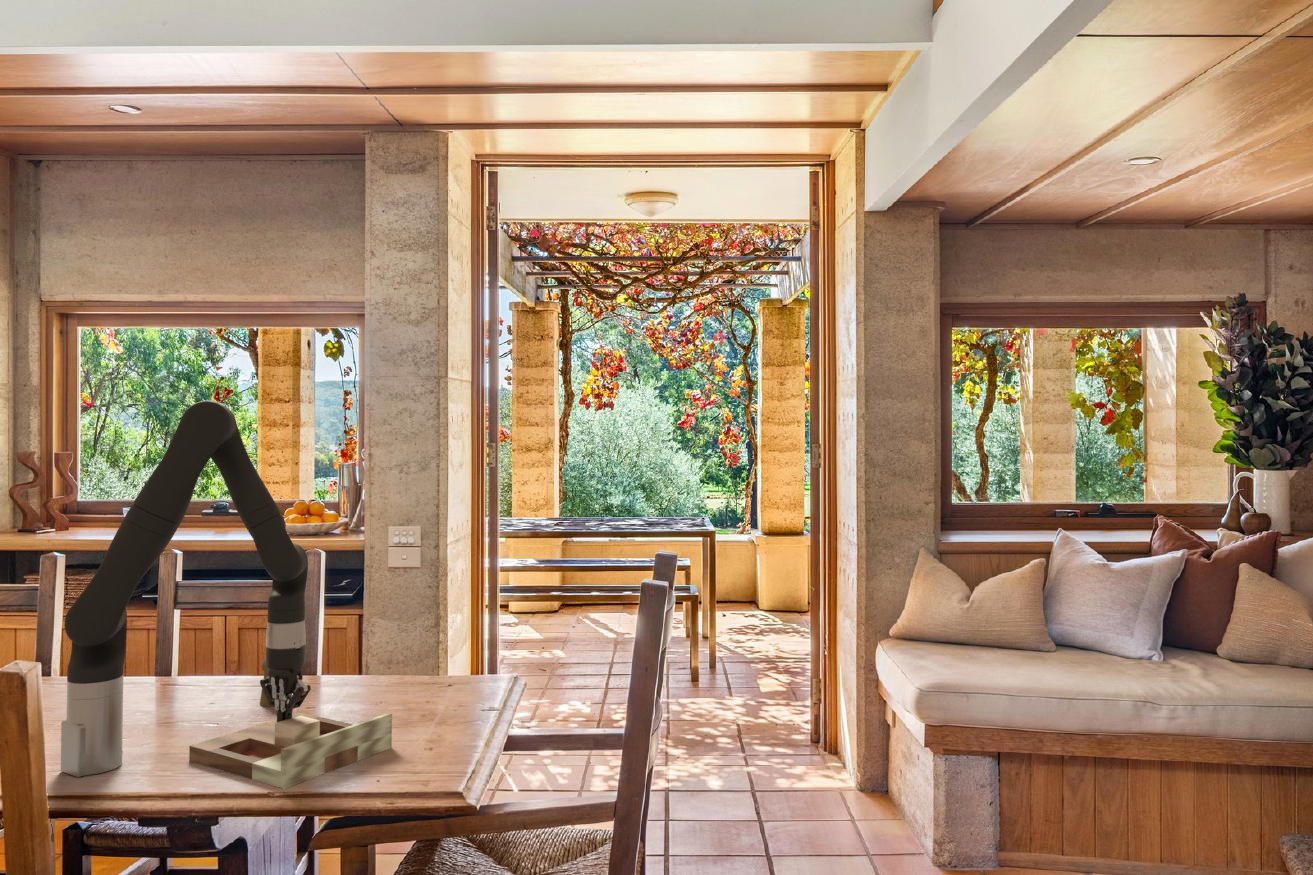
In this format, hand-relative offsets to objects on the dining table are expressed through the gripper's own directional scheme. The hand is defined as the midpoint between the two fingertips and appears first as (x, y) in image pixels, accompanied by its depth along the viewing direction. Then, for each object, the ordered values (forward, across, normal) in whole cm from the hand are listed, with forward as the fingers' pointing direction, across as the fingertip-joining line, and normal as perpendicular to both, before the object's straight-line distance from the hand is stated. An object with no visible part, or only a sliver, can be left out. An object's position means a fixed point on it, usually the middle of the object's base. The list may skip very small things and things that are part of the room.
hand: (284, 728), depth 184 cm
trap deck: (+5, +3, 0) cm, 6 cm away
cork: (+5, -31, +22) cm, 38 cm away
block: (+2, +5, -1) cm, 5 cm away
